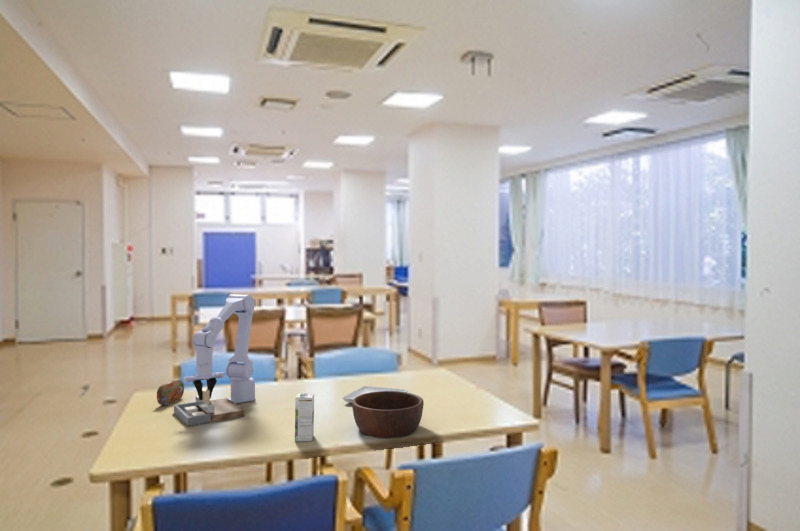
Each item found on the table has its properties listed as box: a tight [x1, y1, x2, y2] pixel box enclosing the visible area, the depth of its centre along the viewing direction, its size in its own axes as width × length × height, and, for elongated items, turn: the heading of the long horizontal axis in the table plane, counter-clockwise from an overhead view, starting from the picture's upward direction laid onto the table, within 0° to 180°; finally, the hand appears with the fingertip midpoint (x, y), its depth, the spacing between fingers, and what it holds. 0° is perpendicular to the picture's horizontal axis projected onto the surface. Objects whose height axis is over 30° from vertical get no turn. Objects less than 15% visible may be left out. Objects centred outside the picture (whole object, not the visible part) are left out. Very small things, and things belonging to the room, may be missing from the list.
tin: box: [156, 379, 185, 406], centre depth 219 cm, size 15×3×8 cm, turn 168°
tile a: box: [184, 406, 198, 415], centre depth 203 cm, size 4×4×2 cm
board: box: [196, 397, 245, 423], centre depth 205 cm, size 12×20×2 cm, turn 36°
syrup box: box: [294, 392, 315, 442], centre depth 177 cm, size 6×6×14 cm
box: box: [173, 401, 212, 427], centre depth 199 cm, size 8×20×3 cm, turn 36°
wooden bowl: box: [351, 391, 425, 439], centre depth 187 cm, size 25×25×10 cm
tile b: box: [191, 411, 205, 417], centre depth 196 cm, size 4×4×2 cm
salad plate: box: [342, 385, 409, 404], centre depth 222 cm, size 21×21×3 cm
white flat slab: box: [195, 387, 215, 414], centre depth 202 cm, size 2×16×7 cm, turn 36°
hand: (204, 399), depth 202 cm, fingers closed on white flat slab, 2 cm apart
